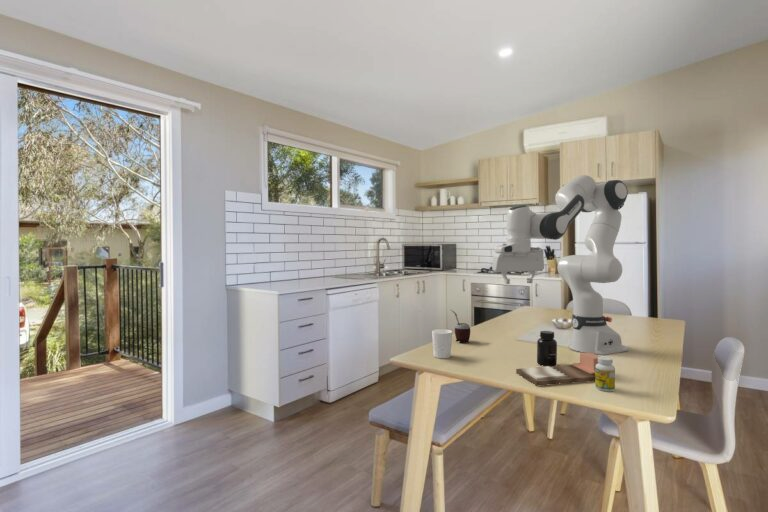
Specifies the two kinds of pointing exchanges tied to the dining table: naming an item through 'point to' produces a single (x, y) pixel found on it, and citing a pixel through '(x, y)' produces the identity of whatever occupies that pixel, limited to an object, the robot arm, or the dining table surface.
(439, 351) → the white cup
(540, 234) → the robot arm
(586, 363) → the stub
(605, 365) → the supplement bottle
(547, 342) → the supplement bottle
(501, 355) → the dining table surface
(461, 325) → the mate gourd
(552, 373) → the ticket board
